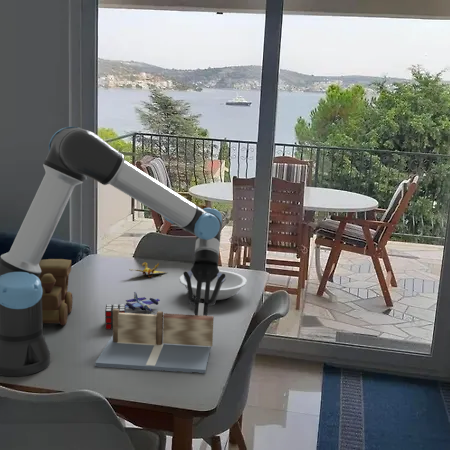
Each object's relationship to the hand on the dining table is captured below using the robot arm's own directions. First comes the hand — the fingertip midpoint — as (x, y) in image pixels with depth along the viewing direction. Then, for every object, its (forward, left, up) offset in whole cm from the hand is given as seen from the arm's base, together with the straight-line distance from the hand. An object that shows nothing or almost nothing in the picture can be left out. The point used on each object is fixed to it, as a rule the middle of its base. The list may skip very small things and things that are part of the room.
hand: (199, 325), depth 174 cm
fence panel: (-3, -3, -4) cm, 6 cm away
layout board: (-11, -6, -6) cm, 14 cm away
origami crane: (-27, +63, -6) cm, 69 cm away
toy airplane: (-21, +24, -6) cm, 32 cm away
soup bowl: (0, +43, -6) cm, 44 cm away
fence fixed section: (-17, -3, -5) cm, 18 cm away
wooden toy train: (-48, +14, -6) cm, 50 cm away
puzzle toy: (-27, +11, -6) cm, 30 cm away
